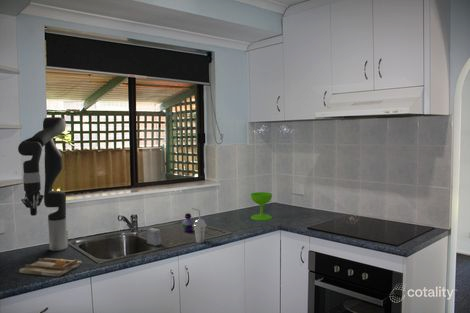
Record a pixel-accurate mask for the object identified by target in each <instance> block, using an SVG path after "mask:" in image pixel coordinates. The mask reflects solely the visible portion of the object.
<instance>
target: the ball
mask: <svg viewBox="0 0 470 313" xmlns="http://www.w3.org/2000/svg"><path fill="white" fill-rule="evenodd" d="M57 259H58V260H57V261H56V262H55V267H61V268H62V266H63V265H65V264H66V261H65V260H66V259H64V258H57Z"/></svg>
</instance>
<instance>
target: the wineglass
mask: <svg viewBox="0 0 470 313" xmlns="http://www.w3.org/2000/svg"><path fill="white" fill-rule="evenodd" d="M272 197H273V193H271V192H263V191H260V192H259V191H258V192H257V191H256V192H252V193H250V198H251V200H252V201H253V202H254V203H255V204H257V205H259V213H258V214H253V215H251V216H250V218H251V220H255V221H267V220H272V219H273V216H271V215H270V214H264V213H263V212H264V207H263V206H264V205H266V204H268V203H269V202H270V201H271V200H272Z"/></svg>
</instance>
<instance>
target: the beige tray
mask: <svg viewBox="0 0 470 313" xmlns="http://www.w3.org/2000/svg"><path fill="white" fill-rule="evenodd" d="M58 259H59V258H49V257H44V258H38V260H37V261H35V262H33V263H31V264H27V263H26V264H24V267H21V268H20V269H19V273H20V274H29V275H41V276H48V277H49V276H50V277H60V276H62V275H64V274H66V273H68V272H71V271H72V270H74V269H76V268H77V267H79V266H81V265H82V264H83V261H81V260H78V259H76V258H75V259H73V260H71V259H64V260H65V261H66V264H65V265H63V266H62V268H61V267H55V262H56V261H57V260H58Z"/></svg>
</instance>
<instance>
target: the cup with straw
mask: <svg viewBox="0 0 470 313" xmlns="http://www.w3.org/2000/svg"><path fill="white" fill-rule="evenodd" d="M191 210H194V211H197V212H198V218H197V219H195V220H194V221H195V222H194V224H193V230H194V236H195V242H196V243H198V244H199V243H204V242H205V241H204V240H205V231H206V227H207V226H208V225H207V223H206V221H205V220H204V219H203V218H201V210H200V209H199V208H198V209H197V208H194V207H191Z"/></svg>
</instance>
